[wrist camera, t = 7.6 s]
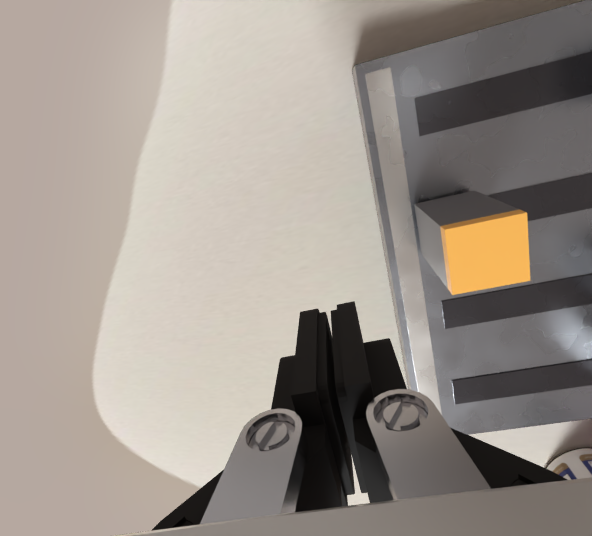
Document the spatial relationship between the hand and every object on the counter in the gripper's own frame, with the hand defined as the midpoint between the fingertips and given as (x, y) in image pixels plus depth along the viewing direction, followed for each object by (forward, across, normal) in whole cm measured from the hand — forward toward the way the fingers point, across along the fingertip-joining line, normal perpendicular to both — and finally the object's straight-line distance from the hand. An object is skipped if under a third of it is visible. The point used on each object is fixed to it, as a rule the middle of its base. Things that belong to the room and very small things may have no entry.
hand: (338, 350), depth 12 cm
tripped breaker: (+10, -6, 0) cm, 12 cm away
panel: (+12, -12, +3) cm, 17 cm away
